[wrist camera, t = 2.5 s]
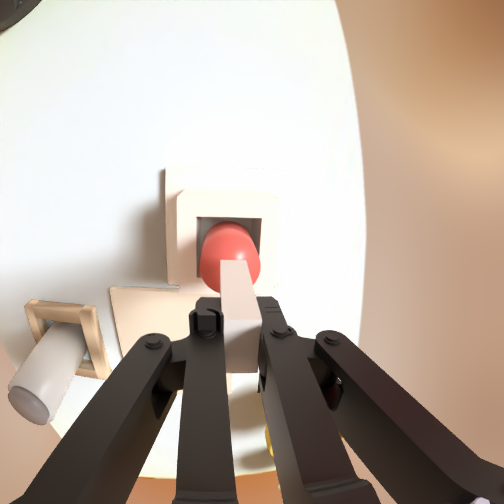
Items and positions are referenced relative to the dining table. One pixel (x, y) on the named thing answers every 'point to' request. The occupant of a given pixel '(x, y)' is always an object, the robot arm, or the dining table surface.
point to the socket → (79, 315)
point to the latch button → (227, 252)
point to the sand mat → (153, 315)
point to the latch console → (224, 219)
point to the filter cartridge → (48, 372)
